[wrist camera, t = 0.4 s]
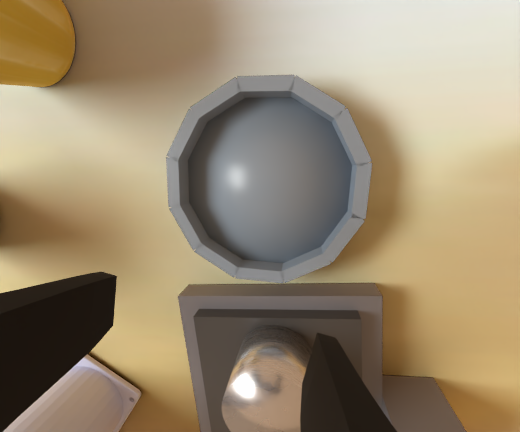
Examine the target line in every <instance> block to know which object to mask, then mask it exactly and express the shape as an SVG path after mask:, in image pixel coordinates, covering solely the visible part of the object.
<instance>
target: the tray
mask: <svg viewBox="0 0 520 432" xmlns="http://www.w3.org/2000/svg"><path fill="white" fill-rule="evenodd" d="M345 107H346V106H344V105H343V104H341V103H340V102H338V101H336V100H335V99H333V98H332V97H330V96H328V95H327V94H325V93H324V92H322V91H320V90H319V89H317V88H316V87H314V86H312V85H311V84H309V83H308V82H306V81H304V80H303V79H301V78H299V77H298V76H296V77H295V78H294V75H269V76H237V78H236V77H235V78H233V79H232V80H230V81H229V82H227V83H226V84H224V85H223V86H221V87H220V88H218V89H217V90H215V91H214V92H212V93H211V94H209V95H208V96H206V97H205V98H203V99H202V100H200V101H199V102H197V103H196V104H194V105H193V106H191V107H190V108H191V109H192V110H191V109H189V110H188V112H187V114H186V116H185V118H184V120H183V122H182V124H181V127H180V129H179V131H178V133H177V135H176V137H175V139H174V141H173V143H172V145H171V147H170V149H169V152H168V154H167V156H168V157H166V162H167V183H168V204H169V207H171V208H169V209H170V211H171V213H172V215H173V216H174V218H175V220H176V221H177V223H178V225H179V227H180V228H181V230H182V232H183V234H184V235H185V237H186V239H187V241H188V242H189V244H190V246H191V248H192V249H193V250H195V249H196V250H195V251H194V252H196V253H197V254H199V255H200V256H202V257H203V258H205V259H206V260H208V261H209V262H211V263H212V264H214V265H215V266H217V267H218V268H220V269H221V270H223V271H225V272H226V273H228V274H229V275H231V276H232V277H235V275H236V278H238V279H247V280H257V281H267V282H276V283H283V281H284V282H285V283H286V282H288V281H291V280H293V279H296V278H298V277H300V276H303V275H305V274H308V273H310V272H312V271H315V270H317V269H320V268H322V267H324V266H327V265H329V264H331V262H332V263H333V261H334V260H335V259H336V257H337V256H338V255H339V254H340V252H341V251H342V250H343V248H344V247H345V246H346V245H347V243H348V242H349V241H350V239H351V238H352V237H353V235H354V234H355V233H356V232H357V230H358V229H359V228H360V226H361V225H362V224H363V223H364V221H365V220H363V219H366V212H367V203H368V195H369V187H370V178H371V170H372V163H369V162H371V161H372V160H371V158H370V156H369V153H368V151H367V149H366V147H365V145H364V143H363V141H362V138H361V136H360V134H359V132H358V130H357V128H356V126H355V124H354V121H353V119H352V117H351V115H350V113H349V111H348V109H347V108H346V109H345V110H344V108H345ZM330 261H331V262H330Z"/></svg>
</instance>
